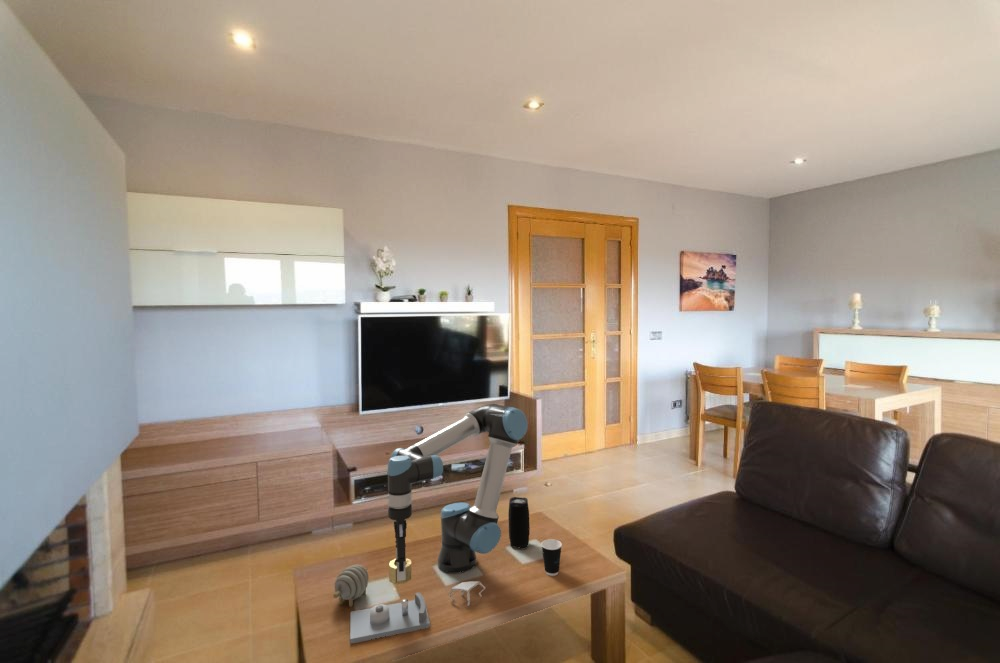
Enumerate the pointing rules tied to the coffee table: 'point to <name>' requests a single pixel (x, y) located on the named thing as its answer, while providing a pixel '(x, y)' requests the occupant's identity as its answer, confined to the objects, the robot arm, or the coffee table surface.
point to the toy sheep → (351, 583)
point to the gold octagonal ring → (394, 572)
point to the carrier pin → (404, 607)
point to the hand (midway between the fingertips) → (400, 573)
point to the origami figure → (466, 588)
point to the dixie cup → (551, 556)
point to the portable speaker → (519, 522)
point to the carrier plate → (388, 620)
